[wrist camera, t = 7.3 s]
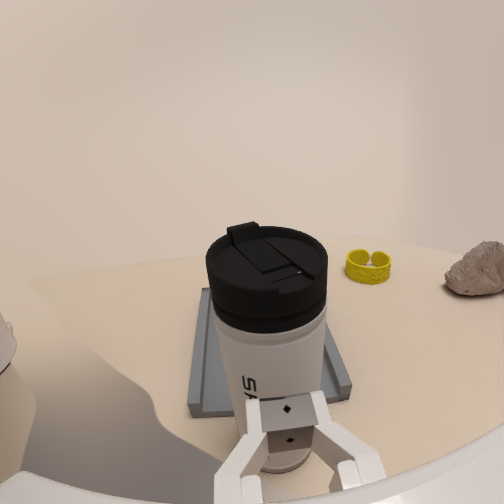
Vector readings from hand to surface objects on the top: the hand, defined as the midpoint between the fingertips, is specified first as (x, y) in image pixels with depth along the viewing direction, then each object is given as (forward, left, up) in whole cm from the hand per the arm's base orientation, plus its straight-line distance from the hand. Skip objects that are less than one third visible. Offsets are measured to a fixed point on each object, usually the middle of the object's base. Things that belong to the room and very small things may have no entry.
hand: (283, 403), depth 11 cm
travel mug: (0, +7, -16) cm, 17 cm away
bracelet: (+20, +36, -16) cm, 44 cm away
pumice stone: (+38, +25, -16) cm, 48 cm away
